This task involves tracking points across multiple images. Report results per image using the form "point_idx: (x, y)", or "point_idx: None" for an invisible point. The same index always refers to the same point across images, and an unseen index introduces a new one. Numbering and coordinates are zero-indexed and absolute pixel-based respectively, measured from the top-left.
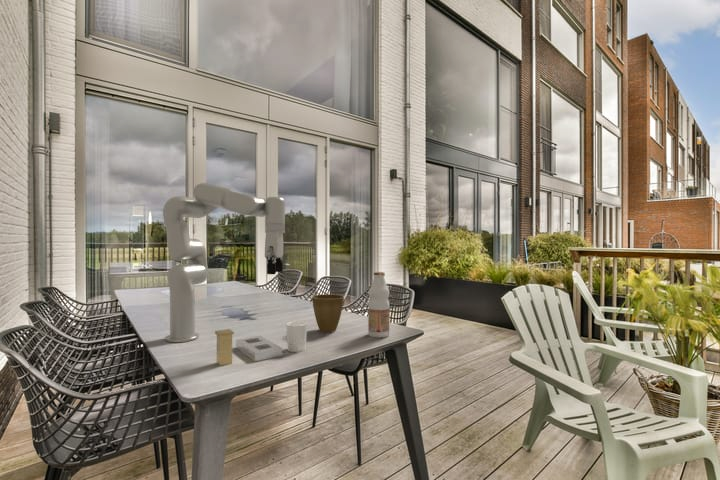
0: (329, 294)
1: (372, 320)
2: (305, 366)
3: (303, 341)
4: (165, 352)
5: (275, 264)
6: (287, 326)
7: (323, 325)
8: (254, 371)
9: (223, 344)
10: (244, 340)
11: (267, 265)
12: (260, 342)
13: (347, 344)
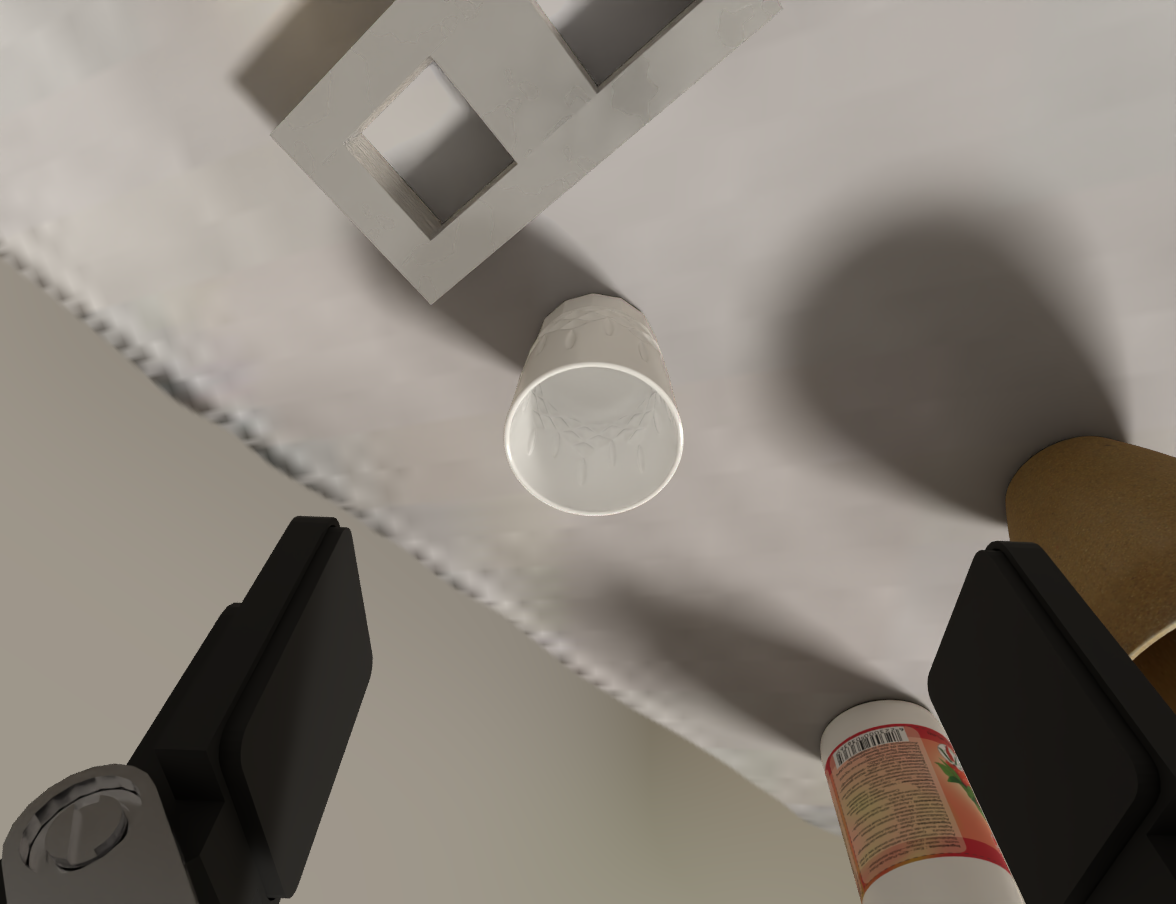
0: None
1: (866, 800)
2: (292, 449)
3: (560, 429)
4: None
5: (258, 894)
6: (534, 375)
7: (1025, 501)
8: (123, 182)
9: None
10: None
11: (190, 704)
12: (552, 85)
13: (702, 609)
